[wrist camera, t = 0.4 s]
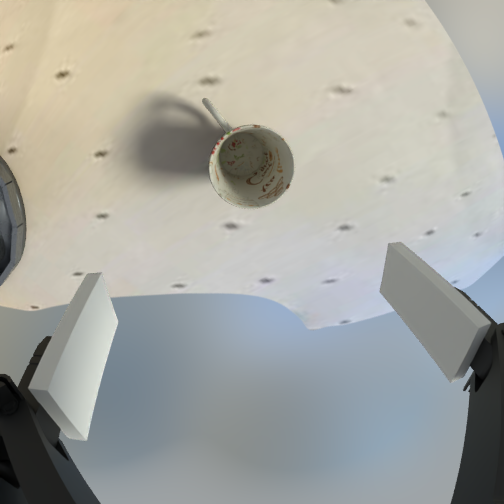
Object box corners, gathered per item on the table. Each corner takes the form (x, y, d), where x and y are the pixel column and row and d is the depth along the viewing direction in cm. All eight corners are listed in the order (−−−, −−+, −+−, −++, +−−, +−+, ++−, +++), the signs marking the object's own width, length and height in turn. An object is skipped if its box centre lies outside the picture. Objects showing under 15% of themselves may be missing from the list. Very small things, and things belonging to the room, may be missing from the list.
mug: (234, 198, 40) (242, 225, 31) (174, 123, 34) (162, 126, 25) (286, 161, 38) (310, 177, 29) (229, 83, 33) (236, 72, 24)
